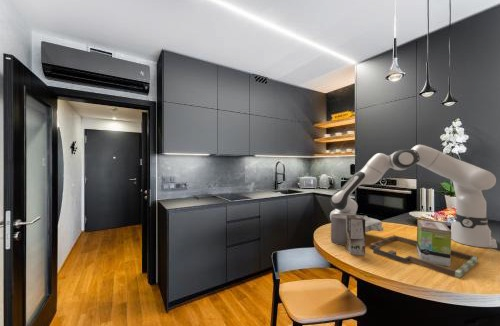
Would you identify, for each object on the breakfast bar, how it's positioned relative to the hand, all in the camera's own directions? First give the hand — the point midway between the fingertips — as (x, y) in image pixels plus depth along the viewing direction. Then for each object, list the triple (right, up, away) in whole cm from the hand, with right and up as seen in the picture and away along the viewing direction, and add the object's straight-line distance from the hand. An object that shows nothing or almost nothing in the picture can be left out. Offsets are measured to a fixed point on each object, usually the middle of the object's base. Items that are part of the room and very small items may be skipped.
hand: (382, 229), depth 113 cm
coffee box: (-19, -7, -10) cm, 22 cm away
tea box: (+12, -8, -16) cm, 22 cm away
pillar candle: (-20, -7, +2) cm, 22 cm away
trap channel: (+8, -7, -14) cm, 18 cm away
